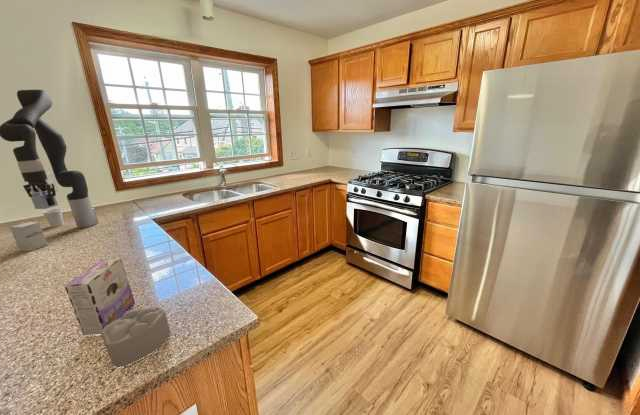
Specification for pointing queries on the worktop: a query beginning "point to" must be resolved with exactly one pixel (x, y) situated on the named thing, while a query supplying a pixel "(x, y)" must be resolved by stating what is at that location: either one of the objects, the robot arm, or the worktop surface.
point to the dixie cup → (54, 217)
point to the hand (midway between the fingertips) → (46, 205)
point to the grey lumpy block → (135, 335)
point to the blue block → (42, 201)
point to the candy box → (100, 295)
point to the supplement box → (28, 236)
